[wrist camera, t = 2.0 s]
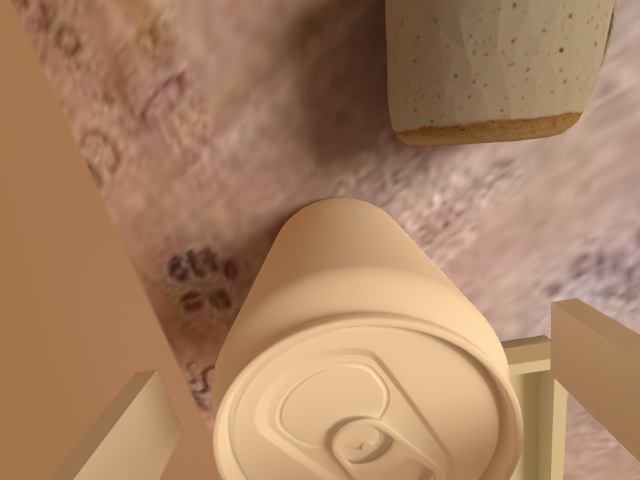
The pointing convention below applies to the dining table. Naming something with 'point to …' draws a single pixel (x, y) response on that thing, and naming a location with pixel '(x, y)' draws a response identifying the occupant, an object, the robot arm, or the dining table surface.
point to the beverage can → (360, 363)
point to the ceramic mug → (492, 67)
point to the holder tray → (538, 409)
